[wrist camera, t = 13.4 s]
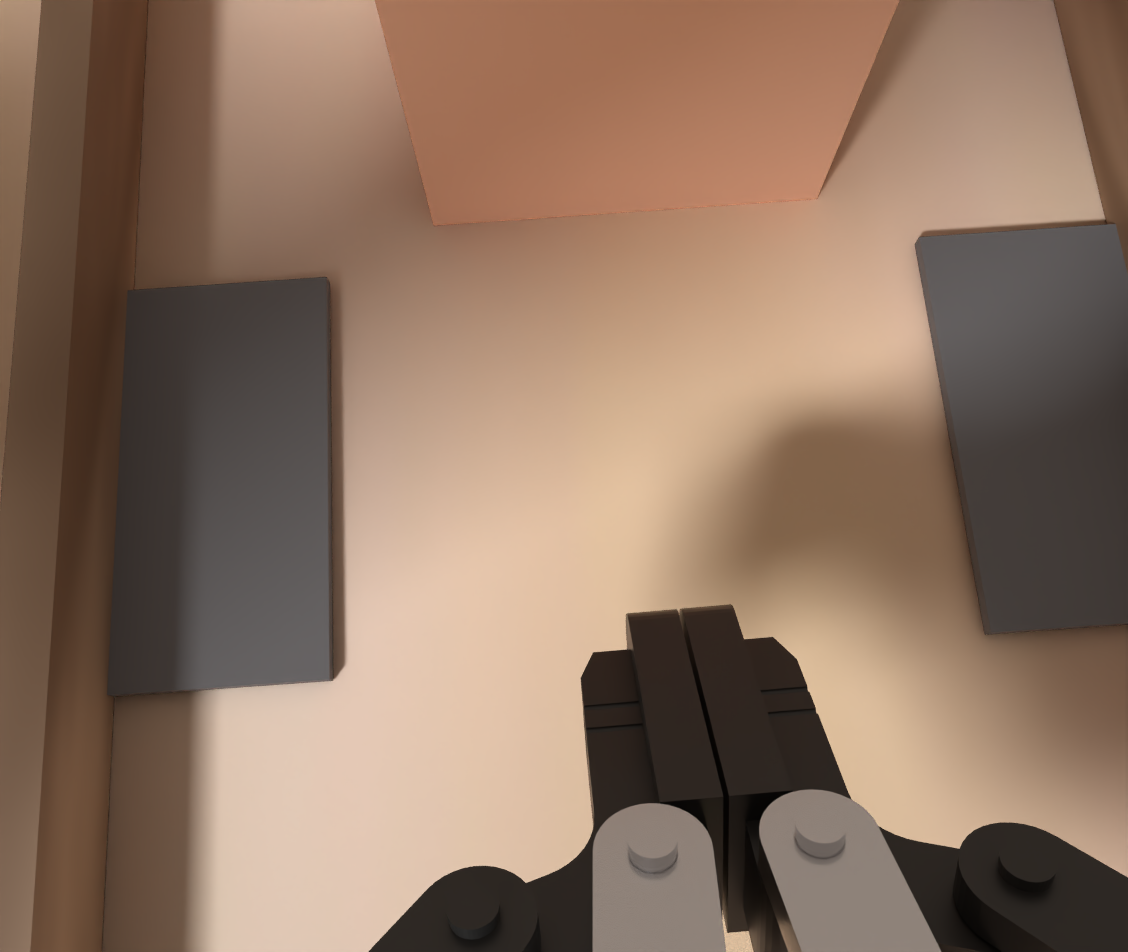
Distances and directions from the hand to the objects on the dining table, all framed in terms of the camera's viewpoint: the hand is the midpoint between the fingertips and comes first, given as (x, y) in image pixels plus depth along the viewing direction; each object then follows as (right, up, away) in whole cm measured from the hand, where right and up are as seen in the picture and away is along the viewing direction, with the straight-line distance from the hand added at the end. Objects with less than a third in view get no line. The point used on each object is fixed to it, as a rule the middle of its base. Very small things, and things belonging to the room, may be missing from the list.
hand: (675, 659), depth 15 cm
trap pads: (0, +3, +5) cm, 6 cm away
